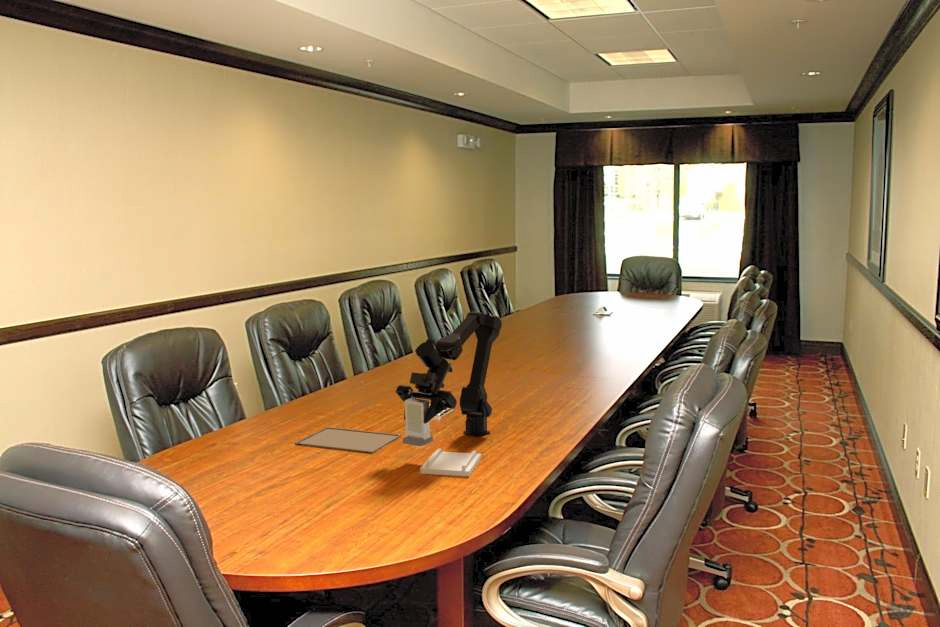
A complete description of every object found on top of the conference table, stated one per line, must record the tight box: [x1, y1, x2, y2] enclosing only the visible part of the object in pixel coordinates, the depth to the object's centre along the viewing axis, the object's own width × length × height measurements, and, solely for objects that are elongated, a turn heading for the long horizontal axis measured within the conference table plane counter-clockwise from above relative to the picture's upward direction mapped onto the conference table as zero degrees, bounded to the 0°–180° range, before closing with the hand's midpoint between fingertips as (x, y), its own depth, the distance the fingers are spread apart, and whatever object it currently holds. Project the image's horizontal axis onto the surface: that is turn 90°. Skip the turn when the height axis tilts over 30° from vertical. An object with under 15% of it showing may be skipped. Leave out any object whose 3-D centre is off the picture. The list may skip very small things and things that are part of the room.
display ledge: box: [419, 448, 482, 477], centre depth 240 cm, size 16×14×3 cm
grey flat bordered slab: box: [294, 426, 403, 454], centre depth 266 cm, size 19×1×28 cm
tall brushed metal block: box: [402, 398, 434, 447], centre depth 243 cm, size 6×6×12 cm
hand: (414, 421), depth 241 cm, fingers closed on tall brushed metal block, 6 cm apart
